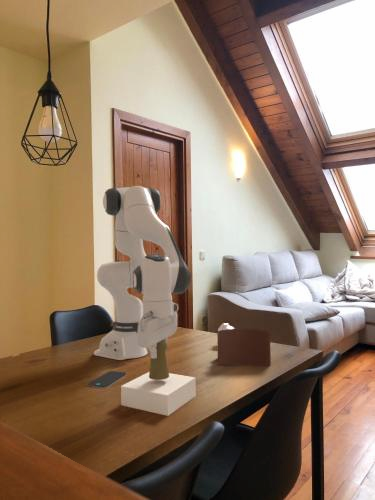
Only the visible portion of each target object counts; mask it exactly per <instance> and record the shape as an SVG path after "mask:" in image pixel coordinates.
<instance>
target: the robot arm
mask: <svg viewBox="0 0 375 500" xmlns="http://www.w3.org/2000/svg"><path fill="white" fill-rule="evenodd" d="M102 205H103V208H104V211H105V213H106V214H107V215H109V216H113V217H115V221H114V222H115V224H114V233H115V234H114V235H115V236H114V240H115V241H114V243H115V245H114V246H115V248H116V250H117V252H120V253H121V254H123V255H125V256H128V257H129V259H130V260H129V261H111V262H107V263H103V264H101V265H100V266H99V268H98V270H97V272H96V279H97V282H98V283H99V285H100V286H101V287H102V288H103V289H105V290H106V291H107V292H108V293H109V294H110V296H111V297H112V299H113V301H114V304H115V316H116V319H115V321H113V322H112V323H111V324H110V326H111V327H113V328H112V330H111V331H109V332H108V333H107V334H106V335H105V336H104V337H102V338H101V340H100V343H99V348H98V349H97V350H95V351H94V353H93V355H94V356H96V357H102V358H106V359H112V360H116V361H117V360H118V361H123V360H127V359H128V360H129V359H131V360H132V359H137V358H142V357H144V356H147V355H148V350H149V352H150V359H151V358H154V359H155V358H157V357H158V352H157V350H156V347H157V343H158V342H160V341H162V340H165V341H166V342H167V343H168V341H169V337H171V336H172V335H175V334H176V332H177V331H178V330H177V329H178V310H179V304H178V303H176V302H173V295H182V294H184V293H185V292H186V291H187V290H188V289H189V287H190V286H191V283H192V276H191V275H192V274H191V272H190V271H191V270H190V269H189V267H188V265H187V264H186V263H185V260H184V259H183V256H182V254H181V252H180V249H179V247H178V245H177V242H176V240H175V237H174V235H173V233H172V231H171V229H170V227H169V226H168V225H167V224H165V223H164V222H163V221H162V220H161V219H160V218H159V217H158V212H159V211H161V210H160V209H161V206H162V197H161V193H160V191H159V190H158V189H157V188H153V187H150V186H149V187H144V186H141V185H133V186H130V187H128V186H127V187H118V188H117V187H112V188H108V189H106V190H105V192H104V195H103V198H102ZM144 241H147V242H150V243H152V244H155V245H157V246H159V247H160V248H161V249H162V250H163V252H164V254H161V253H150V254H146V251H145V248H144ZM129 288H133V290H135V291H136V292H137V293H138V294H141V295H142V299H140V298H139V297H137V296H135V295H133V294H131V293H129V291H128V289H129Z"/></svg>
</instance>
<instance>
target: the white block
mask: <svg viewBox="0 0 375 500" xmlns="http://www.w3.org/2000/svg"><path fill="white" fill-rule="evenodd" d="M149 372H150V371H148V372H146V373H144V374H142V375H139V376H138V377H136V378H134V379H132V380H130V381H128V382H126V383H124V384H122V385H121V386H120V398H121V401H120V403H121V406H122V407H128V408H132V409H136V410H139V411H140V410H141V411H145V412H150V413H154V414H159V415H163V416H166V417H167V416H168V417H169V416H170V415H171V414H173V413H174V412H175V411H177V410H178V409H180V408H181V407H183V406H184V405H185V404H187V403H189V402H190V401H191V400H192V399H193V398H196V395H197V390H196V389H197V388H196V387H197V383H196V382H197V380H196V379H197V378H196V377H194V376H189V375H188V376H187V375H181V374H176V373H171V372H169V377H168V378H167V379H163V380H153V379H150V378H149Z"/></svg>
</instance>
